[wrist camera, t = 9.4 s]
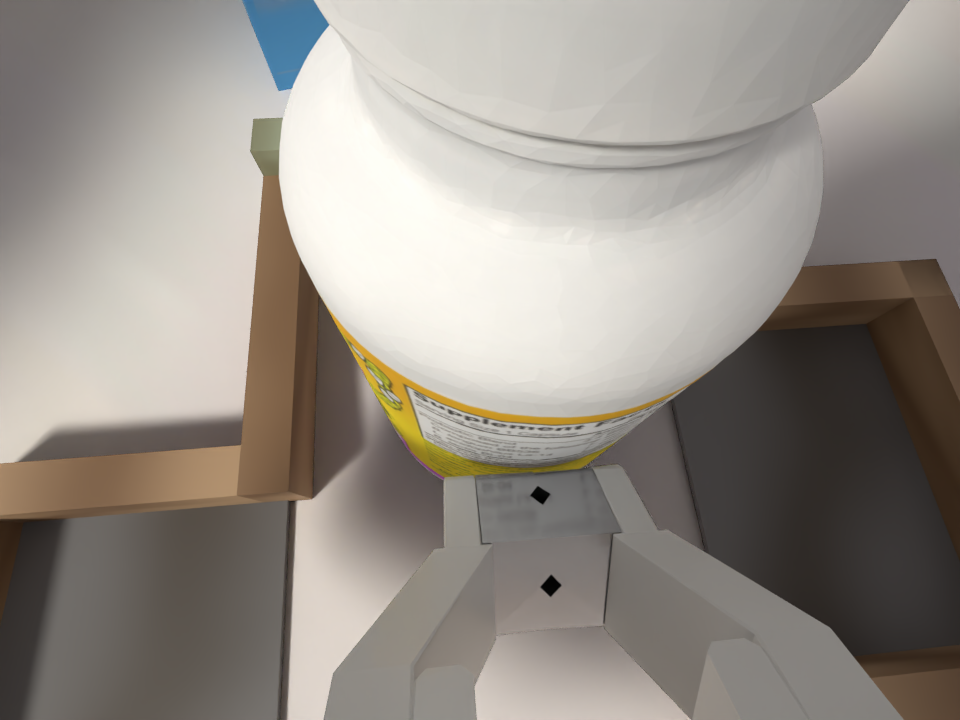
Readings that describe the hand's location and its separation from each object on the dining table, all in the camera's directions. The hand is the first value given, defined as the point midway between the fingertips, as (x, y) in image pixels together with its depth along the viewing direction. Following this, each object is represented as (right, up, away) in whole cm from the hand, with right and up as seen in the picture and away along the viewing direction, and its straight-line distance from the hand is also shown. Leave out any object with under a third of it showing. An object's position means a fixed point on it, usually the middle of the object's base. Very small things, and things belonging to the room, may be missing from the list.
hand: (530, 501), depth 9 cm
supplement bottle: (0, +2, +6) cm, 7 cm away
